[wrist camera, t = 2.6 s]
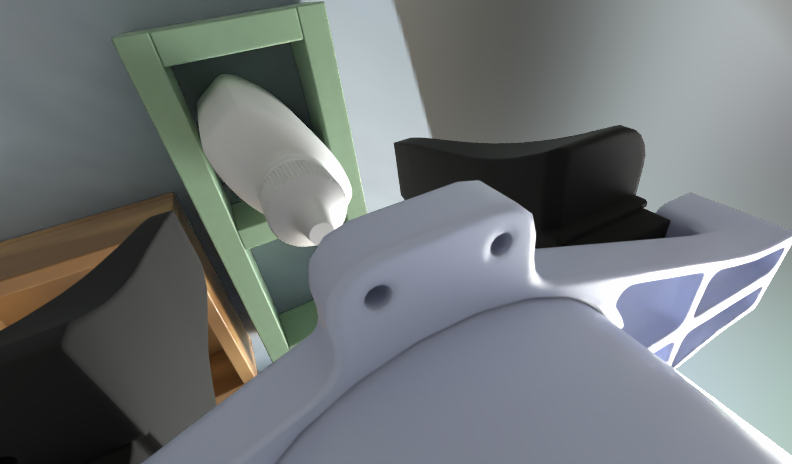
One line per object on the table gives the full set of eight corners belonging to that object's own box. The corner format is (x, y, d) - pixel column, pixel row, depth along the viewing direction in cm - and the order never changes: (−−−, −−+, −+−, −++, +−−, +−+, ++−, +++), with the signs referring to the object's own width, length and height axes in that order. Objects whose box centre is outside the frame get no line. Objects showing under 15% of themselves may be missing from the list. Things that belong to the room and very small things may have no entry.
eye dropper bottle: (241, 188, 20) (286, 339, 11) (184, 84, 17) (180, 174, 8) (316, 158, 22) (413, 273, 12) (275, 53, 18) (367, 102, 9)
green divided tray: (371, 289, 28) (388, 316, 26) (266, 333, 26) (275, 368, 23) (305, 2, 18) (324, 1, 15) (122, 33, 15) (110, 38, 13)
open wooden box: (251, 339, 25) (260, 386, 22) (84, 409, 23) (68, 474, 19) (173, 191, 19) (170, 226, 16) (-73, 262, 16) (-134, 323, 13)
